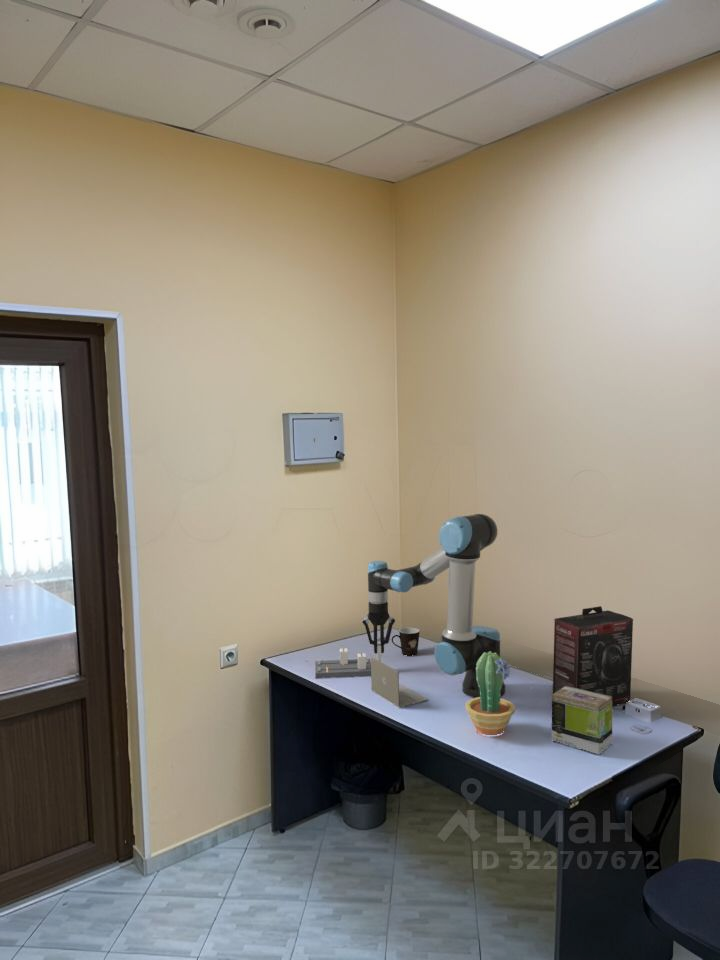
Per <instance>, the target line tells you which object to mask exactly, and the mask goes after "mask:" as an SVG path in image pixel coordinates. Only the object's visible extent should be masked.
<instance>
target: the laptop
mask: <svg viewBox="0 0 720 960" xmlns="http://www.w3.org/2000/svg"><path fill="white" fill-rule="evenodd" d="M370 661H371V676H370V679H371V681H370V682H371V685H370V686H371V688H370V689H371V692H372V693H374V694H375V695H376V696H378V697H380V698H382V699H383V700H385V701H386V702H388V703H390V704H391V703H392V704H391V705H393V706H395V707H396V706H397V707H396V708H398V707H399V708H398V709H401V708H400V707H402V708H405V706H406V707H408V706H409V705H410V706H411V705H412V704H413V705H416V704H415V703H417V704H419V703H422V702H425V701H429V698H428V697H425V696H423V695H422V694H419V692H416V691H414V690H412V689H411V688H410V687H408V686H406V685H404V684H402V683H400V673H399V670H396V669H394V668H392V667H391V666H388V665H387V664H385V663H383V662H382V661H381V662H380V661H378V660H377V658H374V657H370Z"/></svg>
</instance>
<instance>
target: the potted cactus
mask: <svg viewBox="0 0 720 960" xmlns="http://www.w3.org/2000/svg"><path fill="white" fill-rule="evenodd" d="M476 666H477V667H476V677H477V683H478V686H479V688H480V697H477V698H474V697H473V698H470V699H469V700H467V702H465V703H464V706H465V710H466V712H467V715H469V718H470V720H471V722H472V724H473V725H474V727H475V729H476V730H477V732H479V733H481V734H485V735H497V734H501V733H503V731H505V728H506V727H507V725H508V724H509V722H510V720H511V718H512V717H513V715H514V714H515V710H516V707H515V705H514V704H513V702H511V701H509V700H507V699H505V698H501V697H500V693H501V688H502V685H503V681H505V680H506V678H510V674H511V673H510V672H511V666H510V665H509V663H508V662H507V661H506V660H504V659H503V658H501V656H500V657H499V656H498V655H497V653H492V652H491V651H489V652H488V653H486V652H484V653H483V654H482V656H481V657H480V658H479V660H478V662H477V664H476ZM476 730H475V731H476ZM477 732H476V733H477Z"/></svg>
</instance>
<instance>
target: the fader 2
mask: <svg viewBox="0 0 720 960" xmlns="http://www.w3.org/2000/svg"><path fill="white" fill-rule="evenodd" d="M357 659H358V670H363V669H366V659H367V655H366V653H365V652H364V653H363V652H361V653H357Z"/></svg>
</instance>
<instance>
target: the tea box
mask: <svg viewBox="0 0 720 960" xmlns="http://www.w3.org/2000/svg"><path fill="white" fill-rule="evenodd" d="M552 740H553V741H552ZM551 741H552V742H554V741H557V742H556V743H558V742H560V743H559V744H561V743H563V744H562V745H564V744H566V745H565V746H568V745H570V746H569V747H571V746H573V747H572V748H574V747H577V748H576V749H578V748H579V749H578V750H581V749H583V750H582V751H584V750H587V751H586V752H588V751H590V752H589V753H591V752H593V753H592V754H594V753H597V754H596V755H598V754H600V753H601V752H602V753H604V752H603V750H605V749H606V748H607V747H608V746H609V745H610V744H611V743H612V744H613V706H612V697H611V696H608V695H603V694H599V693H595V692H590V691H586V690H582V689H577V688H573V687H569V686H565V687H563V688H562V689H560V690H558V691H557V692H555V693H554V694H553V693H551ZM612 744H611V745H612ZM611 745H610V746H611ZM610 746H609V747H610ZM609 747H608V748H609ZM608 748H607V749H608ZM607 749H606V750H607ZM606 750H605V751H606ZM602 753H601V754H602ZM601 754H600V755H601Z"/></svg>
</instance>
